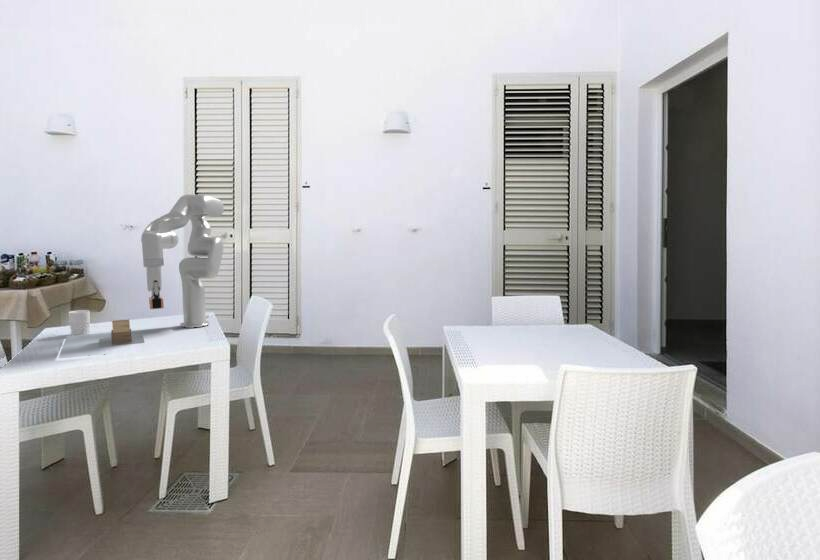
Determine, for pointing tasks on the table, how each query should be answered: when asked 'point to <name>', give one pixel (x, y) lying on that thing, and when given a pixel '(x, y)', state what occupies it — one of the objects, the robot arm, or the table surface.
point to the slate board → (108, 342)
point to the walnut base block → (121, 337)
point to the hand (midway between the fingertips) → (156, 306)
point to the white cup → (79, 322)
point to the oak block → (121, 326)
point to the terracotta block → (152, 305)
